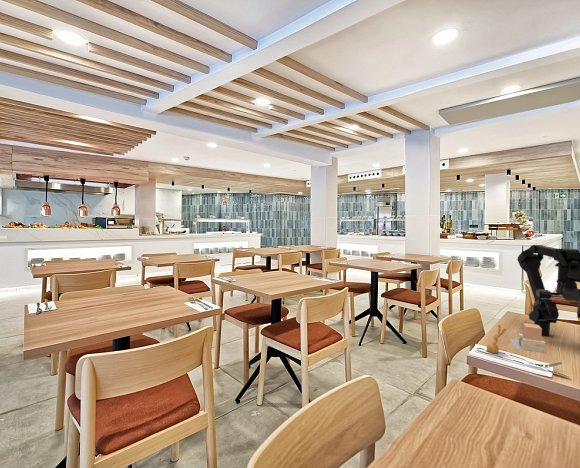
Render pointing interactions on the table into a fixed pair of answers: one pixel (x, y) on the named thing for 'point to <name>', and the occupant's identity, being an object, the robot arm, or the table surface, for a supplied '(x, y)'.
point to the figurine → (492, 346)
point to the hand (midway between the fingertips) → (564, 316)
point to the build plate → (517, 346)
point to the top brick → (532, 332)
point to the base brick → (531, 344)
